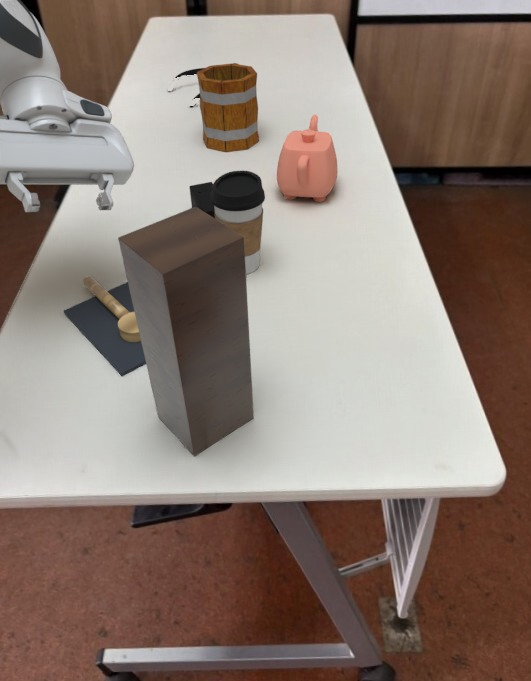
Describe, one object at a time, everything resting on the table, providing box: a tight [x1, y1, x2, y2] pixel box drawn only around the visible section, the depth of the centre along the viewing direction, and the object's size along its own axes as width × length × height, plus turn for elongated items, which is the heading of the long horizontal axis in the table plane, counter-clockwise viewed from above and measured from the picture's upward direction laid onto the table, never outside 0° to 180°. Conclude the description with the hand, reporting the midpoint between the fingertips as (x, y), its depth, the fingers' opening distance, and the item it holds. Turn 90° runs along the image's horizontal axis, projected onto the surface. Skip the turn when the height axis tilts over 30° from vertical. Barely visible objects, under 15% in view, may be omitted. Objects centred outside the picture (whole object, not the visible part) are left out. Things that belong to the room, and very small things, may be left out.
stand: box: [117, 207, 255, 457], centre depth 63 cm, size 8×9×26 cm
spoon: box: [82, 275, 141, 342], centre depth 86 cm, size 18×5×2 cm, turn 40°
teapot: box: [276, 114, 339, 202], centre depth 112 cm, size 20×12×12 cm, turn 170°
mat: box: [62, 281, 146, 377], centre depth 85 cm, size 18×12×1 cm, turn 40°
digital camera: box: [188, 181, 215, 218], centre depth 102 cm, size 10×5×7 cm, turn 20°
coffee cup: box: [211, 170, 266, 275], centre depth 91 cm, size 8×8×15 cm
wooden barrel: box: [196, 62, 260, 153], centre depth 132 cm, size 20×14×15 cm
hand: (71, 208), depth 72 cm, fingers open, 8 cm apart
